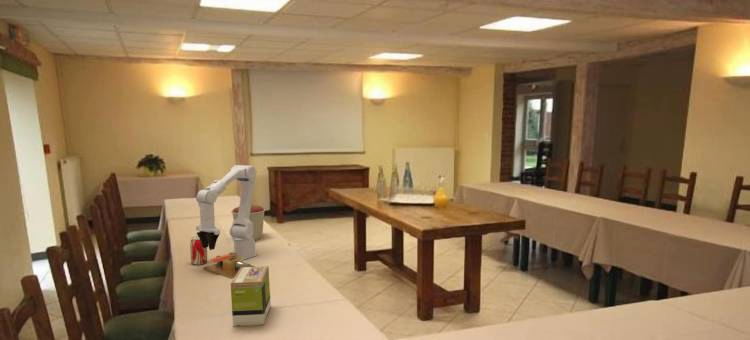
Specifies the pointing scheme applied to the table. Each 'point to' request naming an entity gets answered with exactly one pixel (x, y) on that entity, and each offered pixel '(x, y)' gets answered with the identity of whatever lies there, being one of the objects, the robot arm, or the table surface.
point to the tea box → (250, 296)
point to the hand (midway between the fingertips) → (208, 248)
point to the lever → (224, 257)
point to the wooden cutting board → (227, 267)
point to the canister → (254, 220)
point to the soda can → (197, 251)
